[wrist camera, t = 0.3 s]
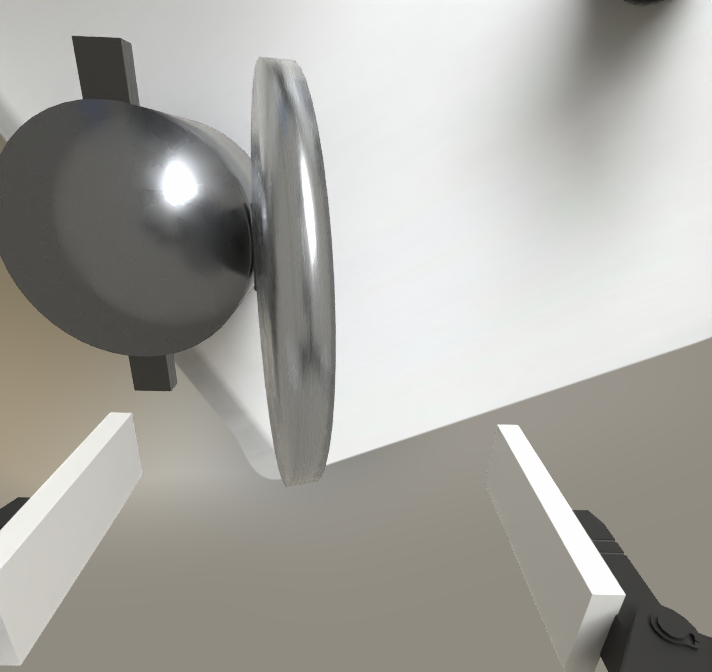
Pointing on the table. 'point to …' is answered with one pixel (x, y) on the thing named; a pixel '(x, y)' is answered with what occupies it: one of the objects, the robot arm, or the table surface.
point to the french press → (643, 1)
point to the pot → (126, 219)
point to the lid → (292, 269)
